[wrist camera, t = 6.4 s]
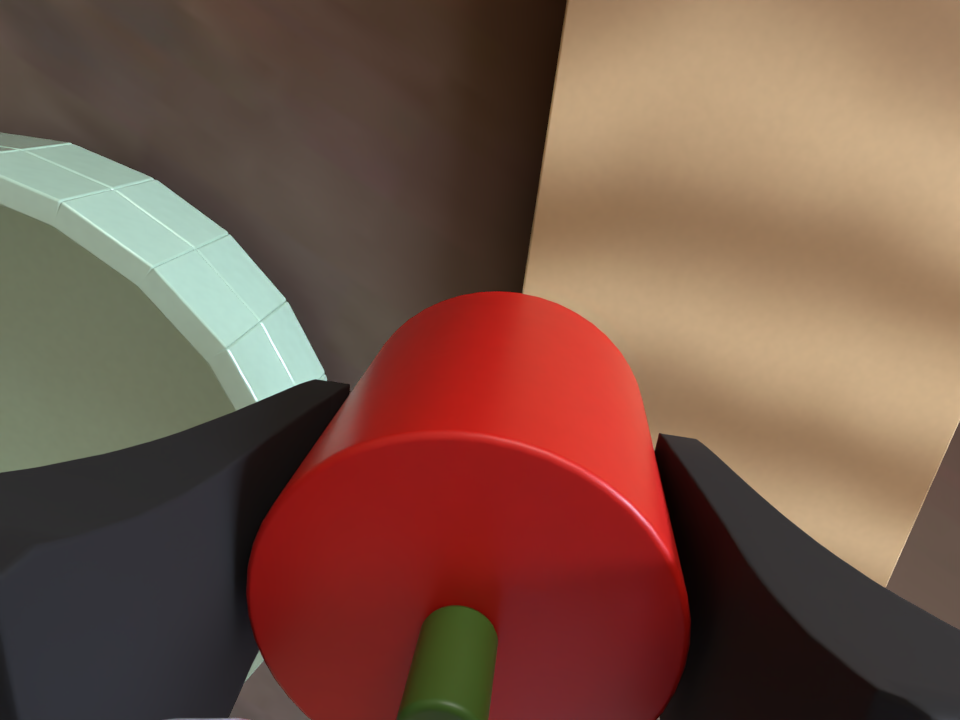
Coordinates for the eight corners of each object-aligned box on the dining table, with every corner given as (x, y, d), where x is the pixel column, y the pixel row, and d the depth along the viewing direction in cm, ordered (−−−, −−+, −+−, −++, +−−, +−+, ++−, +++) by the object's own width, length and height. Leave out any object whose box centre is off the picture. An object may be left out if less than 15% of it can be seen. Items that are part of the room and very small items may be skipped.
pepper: (614, 562, 14) (651, 951, 8) (357, 518, 14) (193, 857, 8) (673, 313, 12) (789, 570, 6) (370, 269, 12) (164, 466, 6)
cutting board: (861, 583, 22) (876, 609, 21) (487, 518, 23) (484, 540, 22) (1188, -186, 14) (1239, -209, 13) (605, -247, 15) (608, -274, 14)
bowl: (335, 675, 26) (291, 787, 22) (-120, 588, 27) (-243, 679, 23) (363, 181, 19) (306, 209, 15) (-253, 91, 20) (-465, 94, 16)
